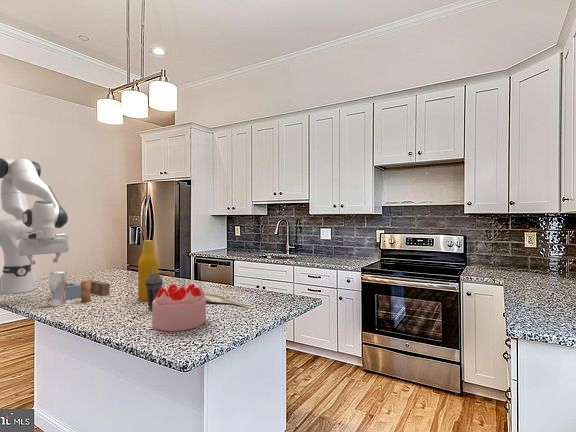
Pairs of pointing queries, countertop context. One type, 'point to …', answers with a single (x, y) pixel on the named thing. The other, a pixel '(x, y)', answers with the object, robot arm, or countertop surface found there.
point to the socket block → (73, 291)
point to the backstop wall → (99, 288)
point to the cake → (179, 308)
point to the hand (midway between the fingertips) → (44, 263)
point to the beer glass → (58, 287)
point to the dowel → (86, 291)
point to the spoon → (222, 300)
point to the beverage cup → (153, 287)
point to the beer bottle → (146, 268)
